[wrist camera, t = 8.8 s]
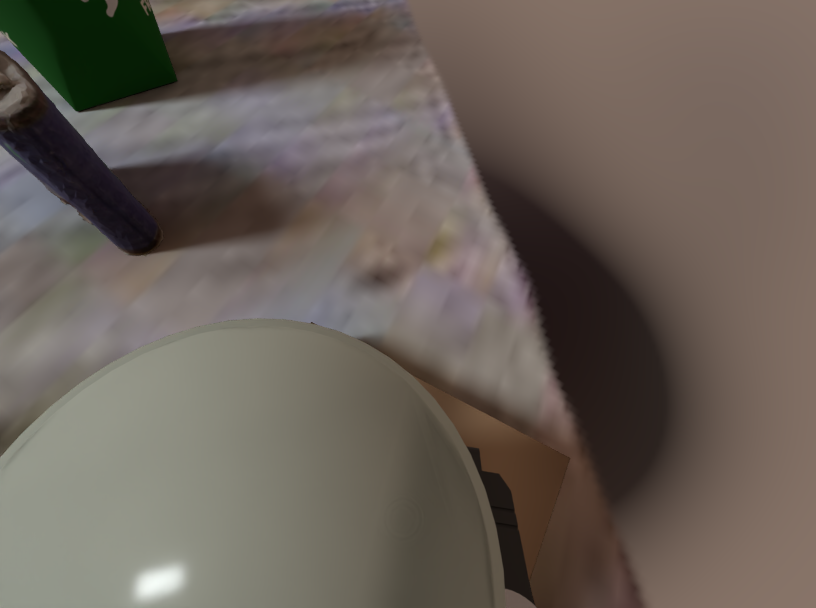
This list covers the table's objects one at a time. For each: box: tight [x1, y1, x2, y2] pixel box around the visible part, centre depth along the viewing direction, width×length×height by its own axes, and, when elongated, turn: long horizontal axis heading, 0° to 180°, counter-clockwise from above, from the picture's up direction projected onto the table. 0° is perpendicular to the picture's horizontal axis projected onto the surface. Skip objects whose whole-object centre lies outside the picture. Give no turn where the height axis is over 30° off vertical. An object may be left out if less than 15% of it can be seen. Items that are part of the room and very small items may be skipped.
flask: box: [0, 50, 163, 256], centre depth 19 cm, size 9×3×11 cm, turn 53°
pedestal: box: [310, 322, 570, 581], centre depth 15 cm, size 12×14×3 cm
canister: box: [0, 318, 506, 608], centre depth 9 cm, size 5×5×11 cm
